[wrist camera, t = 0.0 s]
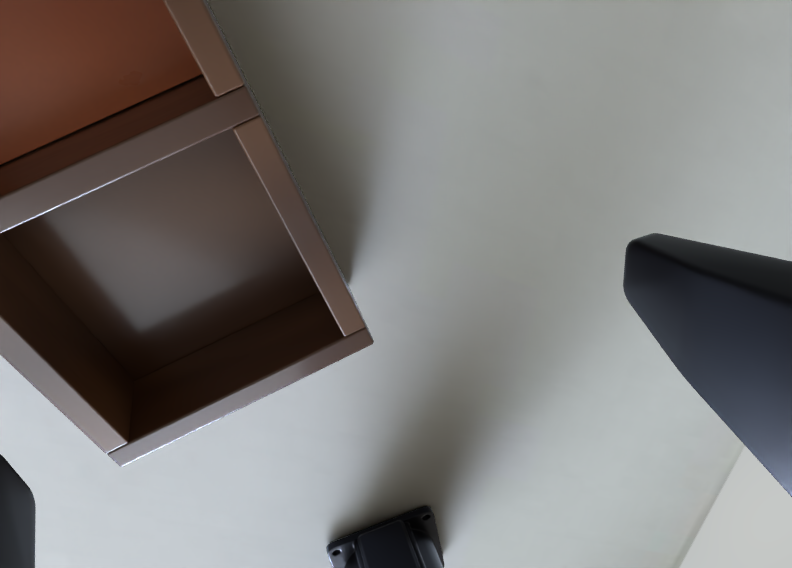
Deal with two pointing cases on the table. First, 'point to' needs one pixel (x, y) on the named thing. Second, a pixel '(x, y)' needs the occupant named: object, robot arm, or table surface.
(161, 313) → the divided wooden tray
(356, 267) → the table surface
